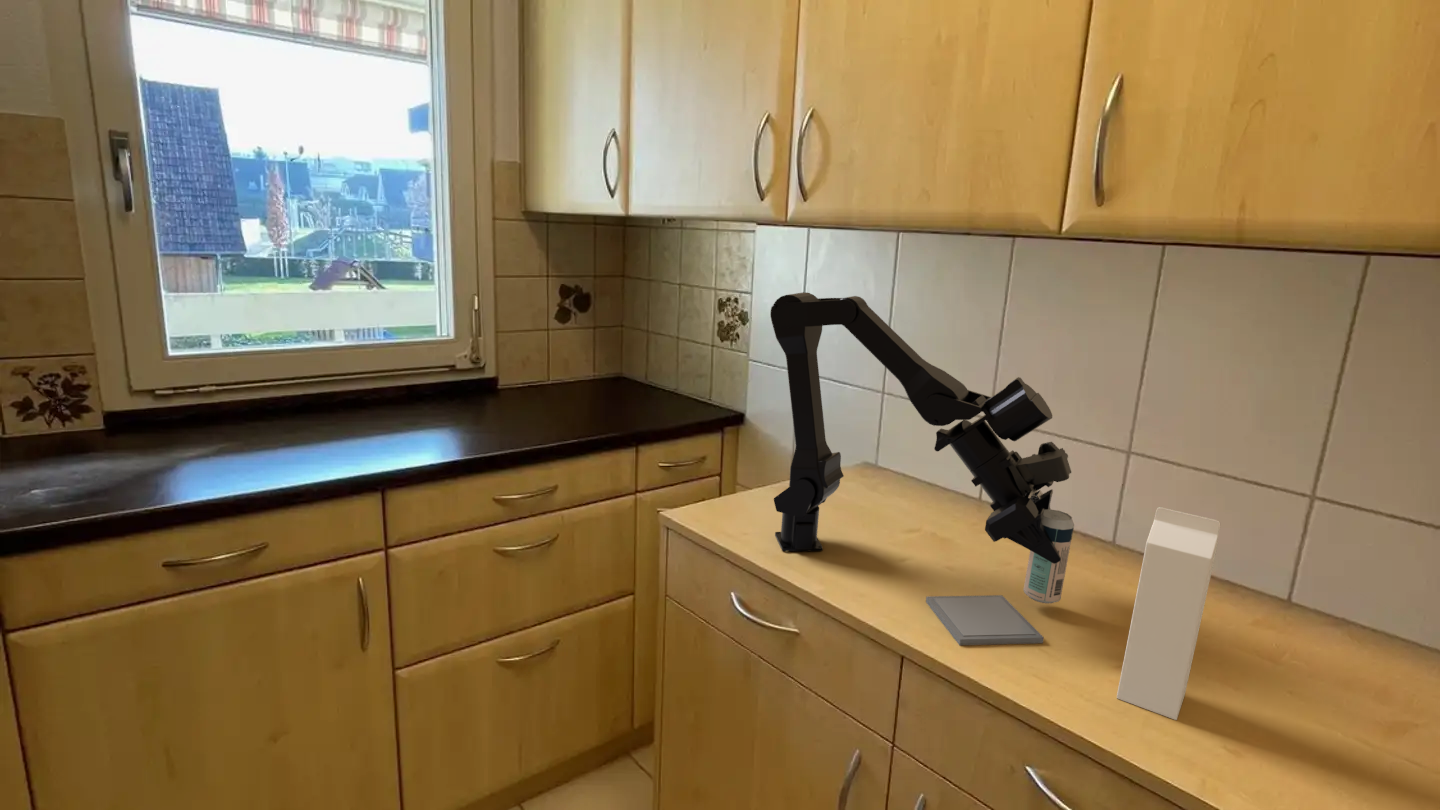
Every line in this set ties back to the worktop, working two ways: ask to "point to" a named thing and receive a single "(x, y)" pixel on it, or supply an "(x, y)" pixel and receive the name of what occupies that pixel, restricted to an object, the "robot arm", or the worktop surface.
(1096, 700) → the worktop surface
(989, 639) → the trivet
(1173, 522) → the milk
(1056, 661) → the worktop surface
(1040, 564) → the beer can
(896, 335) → the robot arm
